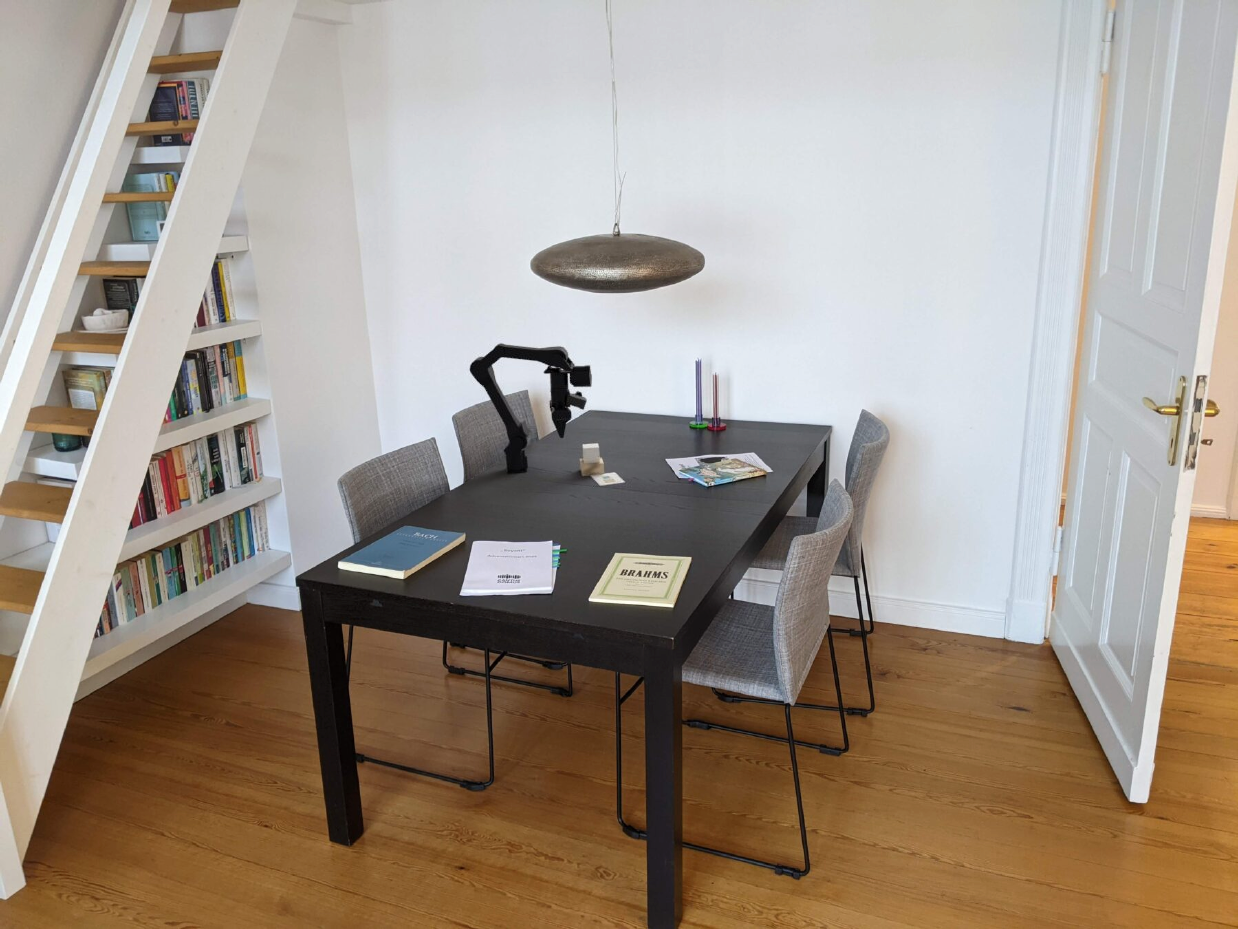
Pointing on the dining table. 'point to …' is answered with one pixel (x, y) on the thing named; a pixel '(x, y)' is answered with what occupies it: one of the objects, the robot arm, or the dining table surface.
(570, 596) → the dining table surface
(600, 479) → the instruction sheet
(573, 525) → the dining table surface
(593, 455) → the white cube
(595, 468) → the oak base
